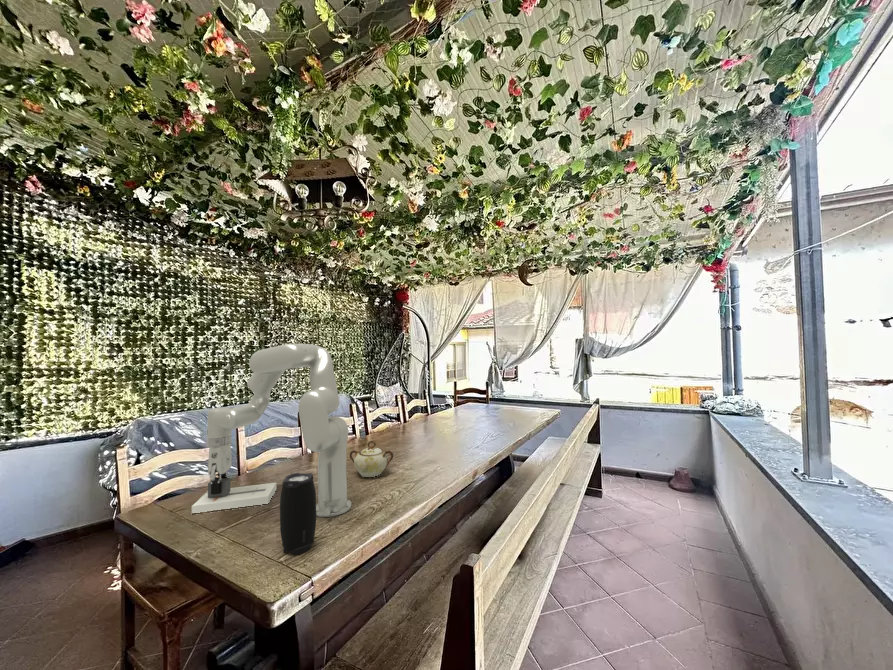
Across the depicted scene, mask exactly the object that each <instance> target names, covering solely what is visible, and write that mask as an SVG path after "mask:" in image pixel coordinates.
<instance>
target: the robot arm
mask: <svg viewBox="0 0 893 670" xmlns="http://www.w3.org/2000/svg"><path fill="white" fill-rule="evenodd" d="M333 364H334V363H333V359H332V356H331V354H330V352H329V351H328V350H327V349H326V348H324V347H322V346H320V345H317V344H311V343H286V344H280V345H275V346H273V347H268V348H263V349H260V350H257V351H256V352H254V353H253V354H252V355H251V357H250V358H249V361H248V365H249V368H250V371H252V374H251V376H250V377H249V379H248V380H247V383H246V386H247V388H249V390H250V391H252V392H253V395H252V397H251V399H250V400H249V402H248V403H247V404H246V405H242V406H237V407H236V406H235V407H232V408H231V407H223V406H221V407H215V408H211V409H209V410H208V412H207V427H206V428H207V432H206V433H207V434H206V436H207V442H206V445H207V447H206V448H209V450H208V461H207V473H208V475H209V480H210V481H211V495H214V494H220V493H221V492H222V482H220V481H221V478H222V479H223V478H228V471H229V470H230V469H231V468H232V463H233V462H232V448H231V445H232V430H235V429H239V428H242V427H245V426H249V425H253V424H254V423H256V422H257V421H258V420H259V419H260V418H261V417H262V416H263V414H264V413H265V412H266V410H267V408H269V404H270V400H271V391H272V390H273V388H274V387H275V385H276V384H277V382H279V380H280V378H281V377H282V375H283V374H284V372H285V371H286V370H291V369H299V368H301V369H302V368H310V370H309V384H310V389H311V390H308V391H306V392H305V393H303V394H302V395H301V397H300V400H299V402H298V407H297V409H298V416H299V420H300V421H299V422H300V427H301V433H302V439H303V442H304V444H305V446H306V448H307V449H308V450H309V451H311V452H313V453H318V455H317V489H318V490H317V496H318V498H317V501H318V502H317V503H316V517H320V518H330V517H337V516H340V515H343V514H345V513H347V512H348V511H349V510H350V509H351V508H352V501H351V500H350V499H348V495H347V494H348V487H347V486H348V484H347V480H348V478H347V475H348V474H347V472H348V471H347V447H348V439H349V425H348V424H347V421H345V420H344V419H343V418H342V417H339V416H330V417H329V415H330V414H333V413H334V412H336V411H337V410H338V408H339V406H340V397H339V391H338V387H337V381H336V377H335V371H334V366H333Z"/></svg>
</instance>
